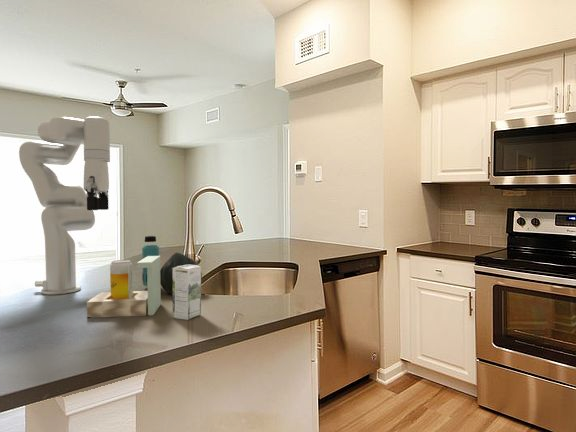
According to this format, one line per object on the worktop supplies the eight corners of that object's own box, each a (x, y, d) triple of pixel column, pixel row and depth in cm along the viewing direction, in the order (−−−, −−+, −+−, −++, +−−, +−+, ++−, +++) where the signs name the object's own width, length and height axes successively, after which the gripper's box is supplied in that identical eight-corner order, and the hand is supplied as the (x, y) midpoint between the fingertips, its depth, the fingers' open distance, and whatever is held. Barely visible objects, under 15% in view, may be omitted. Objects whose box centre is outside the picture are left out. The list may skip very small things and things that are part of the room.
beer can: (115, 308, 120) (114, 259, 120) (135, 307, 121) (134, 259, 120) (107, 313, 114) (106, 263, 114) (129, 313, 115) (128, 262, 114)
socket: (87, 317, 110) (86, 302, 110) (101, 306, 122) (101, 292, 122) (145, 315, 113) (145, 299, 112) (154, 304, 125) (154, 290, 124)
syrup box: (185, 312, 115) (185, 263, 115) (201, 315, 113) (201, 265, 112) (172, 318, 110) (171, 266, 109) (188, 320, 107) (188, 268, 107)
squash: (201, 281, 134) (200, 245, 143) (155, 285, 131) (157, 248, 140) (203, 301, 145) (201, 266, 154) (161, 305, 142) (162, 269, 151)
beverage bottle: (163, 286, 151) (162, 235, 151) (155, 290, 145) (154, 236, 144) (147, 286, 152) (146, 235, 151) (138, 290, 145) (138, 236, 145)
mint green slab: (137, 316, 111) (136, 262, 111) (148, 304, 125) (147, 256, 125) (152, 316, 112) (151, 262, 111) (161, 303, 126) (160, 255, 125)
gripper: (94, 159, 133) (95, 209, 134) (73, 153, 116) (75, 210, 117) (117, 159, 134) (118, 209, 135) (100, 153, 117) (101, 210, 118)
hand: (98, 209), depth 126 cm, fingers open, 9 cm apart
